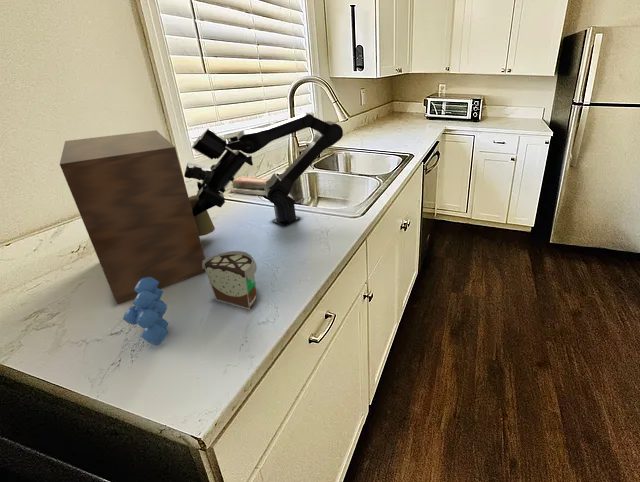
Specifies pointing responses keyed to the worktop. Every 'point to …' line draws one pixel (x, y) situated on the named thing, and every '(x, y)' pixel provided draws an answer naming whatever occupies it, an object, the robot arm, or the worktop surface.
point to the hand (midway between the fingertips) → (192, 212)
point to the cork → (201, 219)
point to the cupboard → (134, 209)
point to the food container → (232, 278)
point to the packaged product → (249, 185)
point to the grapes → (148, 311)
